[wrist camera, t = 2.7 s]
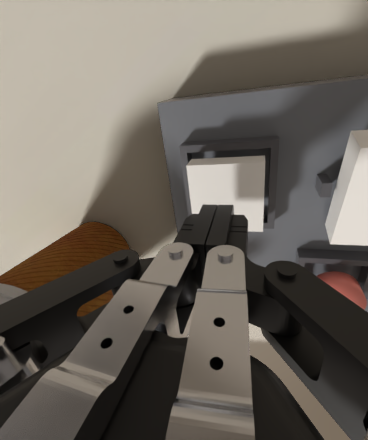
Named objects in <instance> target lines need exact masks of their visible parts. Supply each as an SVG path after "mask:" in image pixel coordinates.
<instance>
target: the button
mask: <svg viewBox="0 0 368 440" xmlns="http://www.w3.org/2000/svg"><path fill="white" fill-rule="evenodd" d="M317 277H318V278H320V279H321V280H323V281H324V282H325V283H327V284H328V285H330V286H331V287H333V288H334V289H335V290H337V291H338V292H340V293H341V294H342V295H344V296H345V297H347V298H348V299H350V300H351V301H352V302H354V303H355V304H357V305H358V306H360V307H361V308H362V309H364V310H365V308H366V306H367V300H366V297H365V295H364V293H363V291H362V289H361V287H360V285H359V282H358V281H357V280H356V279H355V278H354V277H353V276H351V275H349V274H347V273H343V272H336V271H332V272H325V273H322V274H319V275H317Z"/></svg>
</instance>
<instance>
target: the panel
mask: <svg viewBox="0 0 368 440" xmlns="http://www.w3.org/2000/svg"><path fill="white" fill-rule="evenodd" d="M157 105H158V112H159V118H160V124H161V131H162V137H163V143H164V150H165V156H166V162H167V169H168V175H169V181H170V188H171V194H172V200H173V207H174V213H175V219H176V226H177V232H178V233H179V231H180V229H181V227H182V225H183V223H184V221H185V219H186V218H187V217H189V216H190V215H191V214H192V210H191V201H190V193H189V185H188V176H187V168H186V165H187V164H188V163H189V161H190V160H191V159H205V158H225V157H244V156H264V155H265V187H264V215H263V232H250V231H248V249H247V257H248V259H249V260H250V261H252V262H253V263H255V264H257V265H260V266H263V267H266V266H267V265H268V264H270V263H272V262H274V261H291V262H294V263H297V264H299V265H301V266H303V267H304V268H305V269H307V270H308V271H310V272H311V273H313V274H314V275H315V276H317V275H319V274H322V273H325V272H332V271H336V272H343V273H347V274H349V275H351V276H353V277H354V278H355V279H356V280H357V281H358V282H359V285H360V287H361V289H362V291H363V293H364V295H365V297H366V300H367V306H366V308H365V311H367V312H368V246H362V245H337V244H330V242H329V238H328V234H327V230H326V226H325V223H326V219H327V216H328V212H329V208H330V205H331V201H332V198H333V194H334V190H335V187H336V183H337V179H338V176H339V172H340V169H341V165H342V161H343V158H344V154H345V151H346V147H347V143H348V140H349V136H350V132H351V131H356V130H368V75H361V76H353V77H345V78H337V79H328V80H320V81H312V82H304V83H295V84H287V85H279V86H271V87H262V88H254V89H246V90H238V91H229V92H221V93H213V94H205V95H196V96H188V97H180V98H172V99H169V100H166V101H162V102H159V103H157Z"/></svg>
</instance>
